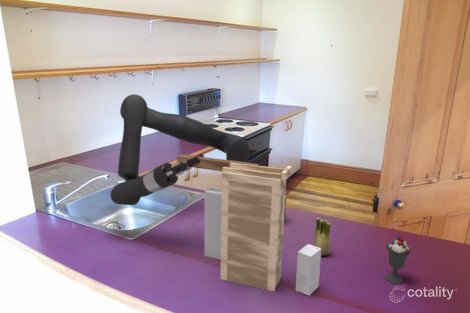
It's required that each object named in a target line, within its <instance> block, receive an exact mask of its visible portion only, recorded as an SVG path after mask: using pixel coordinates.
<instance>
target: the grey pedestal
mask: <svg viewBox="0 0 470 313" xmlns="http://www.w3.org/2000/svg"><path fill="white" fill-rule="evenodd" d="M221 203H222V187H221V188H220V187H214V186H211V187H209V188H208V189H206V190H204V257H207V258H211V259H217V260H220V261H221Z"/></svg>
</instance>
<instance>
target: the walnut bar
mask: <svg viewBox="0 0 470 313" xmlns="http://www.w3.org/2000/svg"><path fill="white" fill-rule="evenodd" d="M196 156H198V155H192V154H191V155H190V154H179V155H177V156H176V163H179V162H182V163H183V162H184V161H187V162H188V160H190V159H192V158H194V157H196ZM198 158H199V160H200V163H198V164H196V165H194V166H192V168H194V169H202V170H206V171H207V170H209V171H214V172H222V171H223V167H229V168H230V163H239V164H248V165H256V166H260V165H259V163H252V162H248V163H247V162H239V161H231V160H226V159H221V158H215V157H214V158H213V157H207V156H204V157H200V156H198Z"/></svg>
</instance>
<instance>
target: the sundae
mask: <svg viewBox="0 0 470 313" xmlns="http://www.w3.org/2000/svg"><path fill="white" fill-rule="evenodd" d="M385 248H386V249H387V250H388V263H389V266H390V267H391V268H392V269H393V270H392V273H387V274H386V275H385V276H384V278H385V280H386V281H388V282H390V283H391V284H394V285H395V284H397V285H401V284H403V283H404V279H403V278H402V276H400V275H398V271H399V270H400V269H402V268H404V267H405V264H406V260H407V258H408V255H409V254H411V253H412V249H411V248H410V247H409V245H407V241H406V240H405V239H404V234H402V235H401V236H398V237H397V238H395V239H394V241H392V242H388V243H386V245H385Z"/></svg>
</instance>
